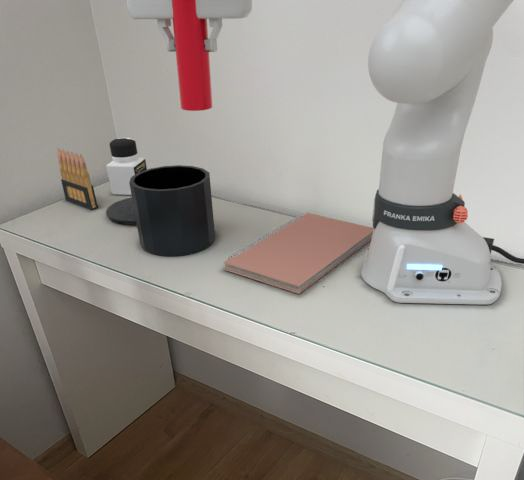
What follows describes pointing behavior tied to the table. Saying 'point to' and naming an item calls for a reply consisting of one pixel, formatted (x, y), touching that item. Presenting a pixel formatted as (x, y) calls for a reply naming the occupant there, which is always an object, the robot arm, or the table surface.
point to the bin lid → (122, 212)
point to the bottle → (191, 56)
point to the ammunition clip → (76, 180)
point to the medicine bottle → (124, 165)
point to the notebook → (299, 251)
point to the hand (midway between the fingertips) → (192, 51)
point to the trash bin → (173, 210)
